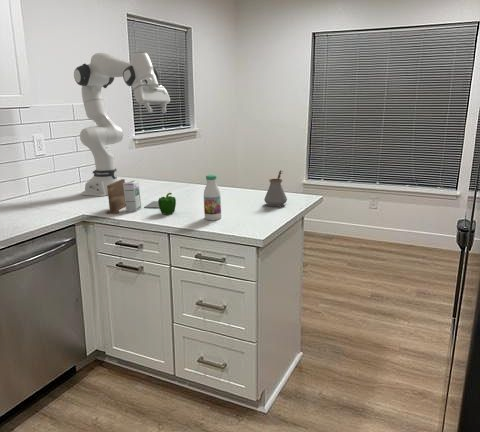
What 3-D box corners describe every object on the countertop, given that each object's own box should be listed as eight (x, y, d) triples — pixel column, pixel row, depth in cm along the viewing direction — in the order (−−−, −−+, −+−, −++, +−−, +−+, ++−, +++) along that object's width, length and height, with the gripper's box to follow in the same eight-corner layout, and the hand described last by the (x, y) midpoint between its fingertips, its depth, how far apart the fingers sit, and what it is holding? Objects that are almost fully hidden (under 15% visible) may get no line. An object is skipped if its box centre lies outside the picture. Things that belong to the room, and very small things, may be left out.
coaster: (144, 208, 230) (144, 206, 230) (153, 202, 242) (153, 201, 242) (166, 208, 228) (166, 207, 228) (174, 202, 239) (174, 201, 239)
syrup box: (136, 211, 224) (134, 182, 220) (125, 211, 225) (122, 182, 221) (141, 208, 230) (138, 180, 226) (130, 208, 231) (127, 180, 227)
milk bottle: (204, 216, 212) (202, 174, 207) (221, 215, 212) (219, 173, 207) (204, 221, 205) (202, 177, 199) (221, 220, 205) (220, 176, 200)
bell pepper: (160, 216, 214) (158, 196, 211) (158, 212, 222) (156, 192, 219) (178, 214, 216) (176, 194, 213) (175, 210, 224) (174, 190, 221)
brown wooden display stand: (105, 213, 222) (102, 185, 218) (120, 205, 237) (117, 179, 233) (117, 213, 221) (114, 185, 217) (131, 205, 236) (128, 179, 232)
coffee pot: (284, 208, 222) (284, 178, 218) (262, 207, 225) (261, 177, 221) (291, 198, 242) (291, 170, 238) (270, 197, 245) (270, 169, 241)
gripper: (159, 88, 227) (168, 114, 227) (129, 86, 211) (138, 114, 211) (168, 83, 224) (176, 109, 224) (137, 80, 207) (147, 109, 207)
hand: (157, 112), depth 217 cm, fingers open, 8 cm apart
